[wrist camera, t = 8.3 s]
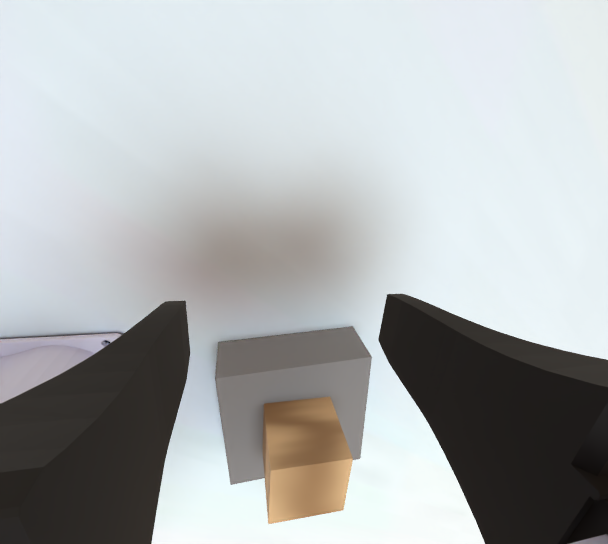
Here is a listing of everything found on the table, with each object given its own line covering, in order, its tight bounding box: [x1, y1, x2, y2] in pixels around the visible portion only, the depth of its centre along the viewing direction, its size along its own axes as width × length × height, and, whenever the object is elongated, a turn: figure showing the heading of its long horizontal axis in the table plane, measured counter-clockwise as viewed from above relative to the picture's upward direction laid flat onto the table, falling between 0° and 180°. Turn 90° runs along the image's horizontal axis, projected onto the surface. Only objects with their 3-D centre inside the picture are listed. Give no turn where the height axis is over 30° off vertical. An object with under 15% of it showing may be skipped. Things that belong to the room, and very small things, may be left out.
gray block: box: [215, 327, 372, 485], centre depth 23 cm, size 10×10×4 cm
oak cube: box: [263, 397, 353, 524], centre depth 19 cm, size 4×4×4 cm
